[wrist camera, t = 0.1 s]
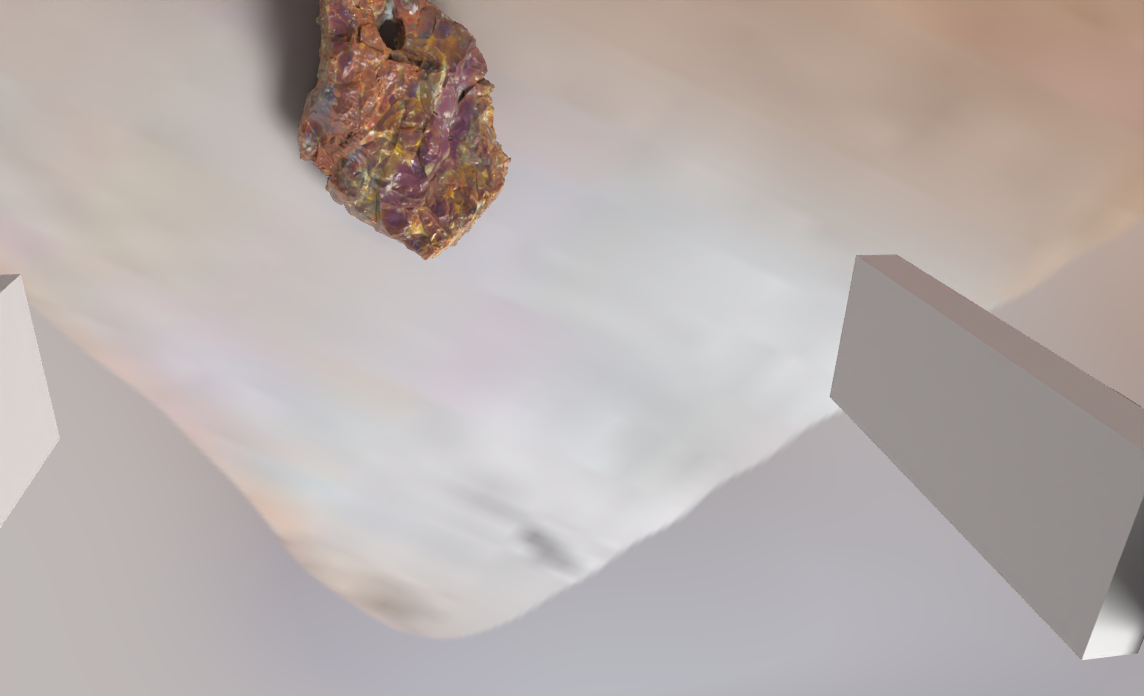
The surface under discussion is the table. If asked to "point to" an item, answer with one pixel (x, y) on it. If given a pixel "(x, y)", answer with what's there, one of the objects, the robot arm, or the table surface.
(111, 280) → the table surface
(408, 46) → the mineral specimen
